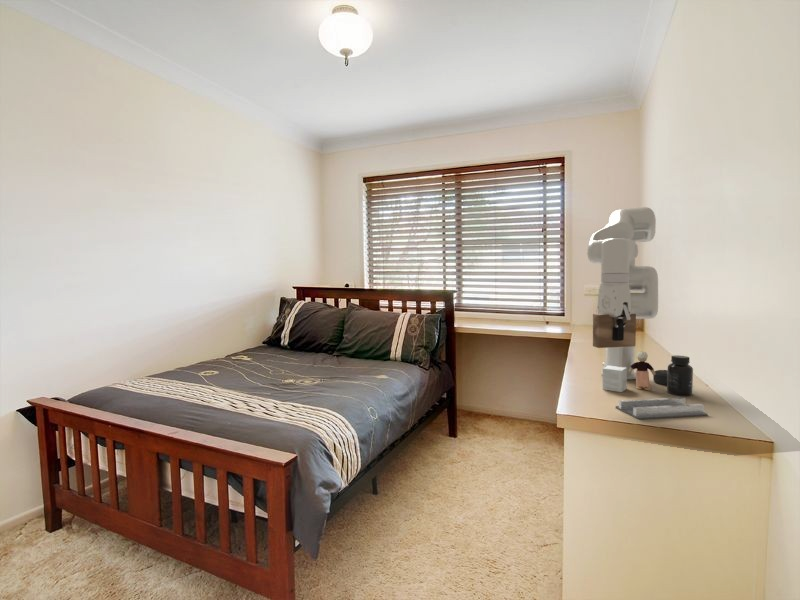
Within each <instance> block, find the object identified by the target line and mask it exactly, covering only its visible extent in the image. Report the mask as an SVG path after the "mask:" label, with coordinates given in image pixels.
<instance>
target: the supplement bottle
mask: <svg viewBox="0 0 800 600" xmlns="http://www.w3.org/2000/svg"><path fill="white" fill-rule="evenodd" d="M670 362H671V363H670V364H668V365H667V369H666V370H667V385H666V391H667V393H669V394H671V395H675V396H680V397H682V396H683V397H689V396H691V395H693V389H694V388H693V387H694V385H693V384H694V383H693V382H694V381H693V380H694V379H693V378H694V368H693V366H691V365H690V363H691V362H690V357H689V356H685V355H679V354H678V355H676V354H675V355H674V354H673V355H671V360H670Z"/></svg>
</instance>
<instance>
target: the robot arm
mask: <svg viewBox="0 0 800 600" xmlns="http://www.w3.org/2000/svg"><path fill="white" fill-rule="evenodd" d="M655 214H656V213H655V212H654V209H652V208H650V207H646V206H644V207H630V208H622V209H621V208H620V209H618V210H615V211H613V212H612V213H611V214H610V216H609V218H608V221H607V224H606V225H605V226H604V227H603V228H602V229H599V230H597V231H596V232H594V233H593V234H592V235H591V237H590V239H589V241H588V245H587V249H586V250H587V252H586V254H587V255H586V256H587V259H588V261H590V263H592V264H600V265H601V266H600V268H601V269H600V270H601V271H600V273H601V274H600V284H599V288H598V294H597V307H596V308H597V310H596V311H597V314H608V315H609V316H610V317H614V327H613V341H622V340H624V327H625V324H626V323H627V322H628V321H630V320H631V318H630V313H635V314H636V320H638V319H641V320H651V319H654V318H656V316H657V315H658V313H659V277H658V276H659V275H658V272H657V269H656V268H655V267H653V266H649V265H646V266H645V265H642V266H641V265H639V266H638V265H637V266H636V258H637V257H638V254H639V246H638V244H637V243H648V242H651V241H652V240H653V239H654V238H655V235H656V228H657V227H656V225H657V223H656V220H657V219H656V215H655ZM620 315H621V317H618V316H620ZM618 319H620V320H619V321H618ZM635 348H636V346H632V347H610V348H605V361H604V362H602V365H601V366H603V367H606V366H608V365H609V366H617V367H625V368H627V381H628V380H629V381H630V380H636V371H635V369H633V370H632V372H629V369H630V366H631V365H632V364H634V363H635V355H636V354H635ZM600 372H601V373H600V374H601V375H602V376H603V369H602V370H601V371H600Z"/></svg>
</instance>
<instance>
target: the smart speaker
mask: <svg viewBox="0 0 800 600" xmlns="http://www.w3.org/2000/svg"><path fill="white" fill-rule="evenodd" d="M654 371H655V373H656V374H655V375H653V374H652V377H653V381H654V383H656V384H659V385H663V386H667V369H658V370H654Z"/></svg>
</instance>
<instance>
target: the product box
mask: <svg viewBox="0 0 800 600" xmlns="http://www.w3.org/2000/svg"><path fill="white" fill-rule="evenodd" d="M602 370H603V375H602V390H604V391H611V392H617V393H623V392H624V391H626V389H628V388H627V387H628V380H627V368H625V367H617V366H609V365H608V366H606V367H605V366H603V368H602Z"/></svg>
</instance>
